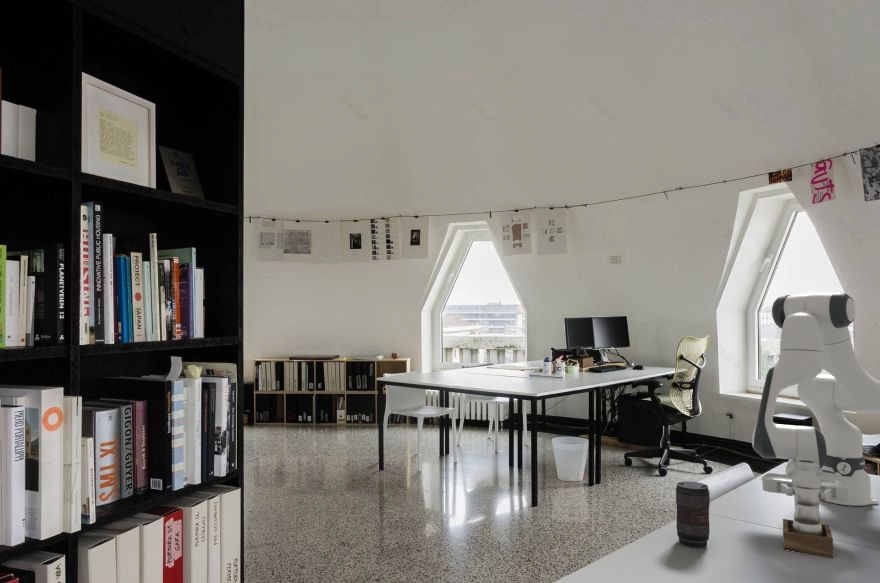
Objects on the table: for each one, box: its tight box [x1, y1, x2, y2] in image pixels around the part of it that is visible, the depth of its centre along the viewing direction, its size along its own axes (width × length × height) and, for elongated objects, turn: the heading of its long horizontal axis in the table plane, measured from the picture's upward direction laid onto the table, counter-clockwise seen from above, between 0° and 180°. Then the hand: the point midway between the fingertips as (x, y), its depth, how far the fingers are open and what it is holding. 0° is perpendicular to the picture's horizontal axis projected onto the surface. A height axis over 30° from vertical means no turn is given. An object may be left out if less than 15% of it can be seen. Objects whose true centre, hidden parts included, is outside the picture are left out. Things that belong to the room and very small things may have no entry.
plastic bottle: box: [792, 460, 823, 536], centre depth 164 cm, size 6×7×20 cm
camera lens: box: [675, 481, 711, 549], centre depth 166 cm, size 8×8×15 cm
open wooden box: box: [782, 518, 834, 559], centre depth 163 cm, size 12×10×4 cm
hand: (806, 494), depth 163 cm, fingers closed on plastic bottle, 6 cm apart
